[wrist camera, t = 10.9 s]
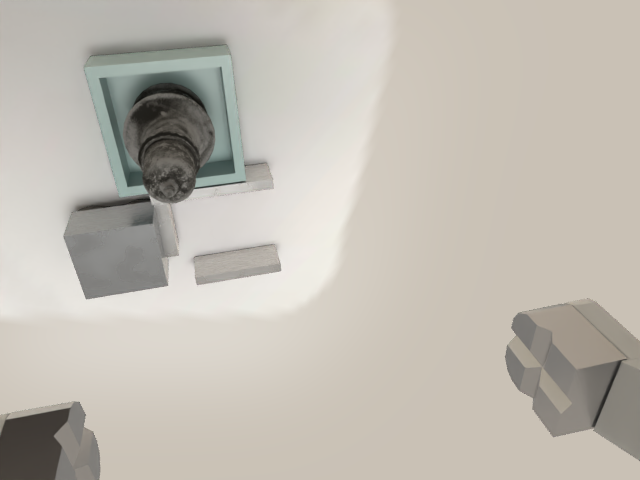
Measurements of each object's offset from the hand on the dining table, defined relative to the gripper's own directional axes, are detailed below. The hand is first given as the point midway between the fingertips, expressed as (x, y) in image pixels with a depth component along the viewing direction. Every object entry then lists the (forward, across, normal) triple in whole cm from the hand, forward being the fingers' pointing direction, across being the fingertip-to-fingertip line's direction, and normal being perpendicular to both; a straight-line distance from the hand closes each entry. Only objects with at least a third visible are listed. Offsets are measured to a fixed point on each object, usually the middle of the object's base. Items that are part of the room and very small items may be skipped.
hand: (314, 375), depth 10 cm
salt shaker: (+31, +4, +5) cm, 31 cm away
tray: (+31, +4, +5) cm, 32 cm away
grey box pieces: (+31, +5, +14) cm, 34 cm away
